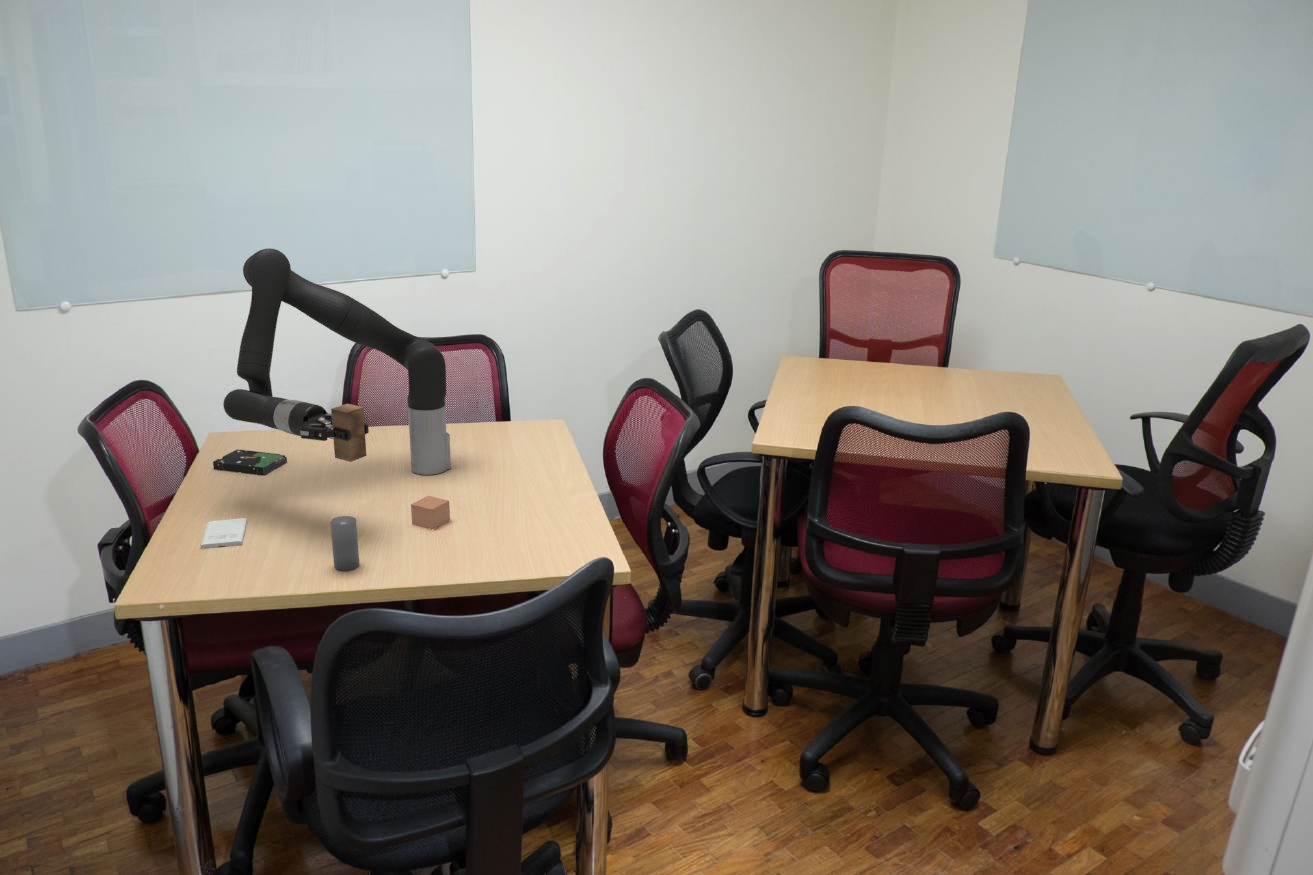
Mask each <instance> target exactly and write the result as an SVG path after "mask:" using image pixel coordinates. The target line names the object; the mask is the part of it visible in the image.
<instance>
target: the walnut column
mask: <svg viewBox="0 0 1313 875" xmlns="http://www.w3.org/2000/svg"><path fill="white" fill-rule="evenodd" d="M330 411H331V413H330V414H332V426H334V427H335V428H342V429H346V430H349V431H350V432H351V440H349V441H346V440H341V439H337V438H335V439H333V448H334V458H335V459H337V460H342V461H346V462H350V463H352V462H355V461H357V460H359V459H363V458H365V457H367V443H366V434H365V428H364V423H365V413H364V412H365V411H364V407H363V406H359V405H356V404H351V403H345V404H342V405H339V406H336V407H333V408H330Z"/></svg>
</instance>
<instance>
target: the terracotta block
mask: <svg viewBox="0 0 1313 875" xmlns="http://www.w3.org/2000/svg"><path fill="white" fill-rule="evenodd" d="M450 510H451V508H450V500H449V499H444V498H440V497H435V496H432V495H427V496H424V497H423V498H420V499H419V500H417V501H415V502H413V503H411V504H410V511H411V514H410V515H411V525H413V526H418V527H421V528H424V529H428V528H431V529H430V530H432V529H434V528H435V529H437V528H439V527H441V526H442V524H443V525H445V524H446V523H448V522H450V521H451V515H450V514H451V511H450ZM449 520H450V521H449ZM444 523H445V524H444ZM440 525H441V526H440ZM438 526H439V527H438ZM436 527H437V528H436ZM435 529H434V530H435Z"/></svg>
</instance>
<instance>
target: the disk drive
mask: <svg viewBox="0 0 1313 875" xmlns="http://www.w3.org/2000/svg"><path fill="white" fill-rule="evenodd" d="M285 464H288V457H287V456H286V455H285V454H280V453H273V452H265V451H255V450H249V449H248V450H247V449H235V450H233V451H231V452H230V453H229V452H228V453H227V454H225V455H223V456H222V458H217V459H215V460H213V461H212V465H213V470H215V471H222V472H223V471H224V472H232V473H238V472H241V473H240V474H248V475H254V474H255V475H256V474H257V476H267V475H268V474H270V473H272V472H273V471H275V470H277V469H278V468H281V467H282V466H284V465H285Z"/></svg>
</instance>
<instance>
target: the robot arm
mask: <svg viewBox="0 0 1313 875" xmlns="http://www.w3.org/2000/svg"><path fill="white" fill-rule="evenodd" d="M242 274H243V278H244V279H245V281H246V283H247V284H248V285H249V286H250V287H251V300H250V306H249V310H248V315H247V319H246V323H245V326H244V329H243V333H242V337H241V340H240V341H241V342H240V346H239V352H238V359H237V366H236V373H237V377H239V378H240V379H243V380H244V381H245V382H247V385H248V389H242V388H238V389H237V388H236V389H234V390H231V391H229V392H228V393H227V395H226V396H225V397H224V400H223V410H224V412H225V414H226V415H227V416H228V417H229V418H230V419H233V420H235V421H239V422H240V421H241V422H247V423H252V424H258V425H262V426H264V427H268V428H271V429H274V430H279V431H282V432H285V433H287V434H290V435H294V436H298V437H300V438H301V439H304V440H312V441H313V440H314V441H322V442H325V441H328V438H329V439H330V440H334V439H335V438H337V439H341V440H346V441H349V440H351V432H350V431H349V430H346V429H342V428H335V427H334V426H332V413H328V412H327V410H326V409H325V408H324V406H321V405H319V404H315V403H310V402H306V401H302V400H297V399H288V398H283V397H279V396H278V397H277V396H273V389H272V381H271V380H272V379H271V375H270V374H271V367H272V359H273V352H274V345H275V337H276V330H277V323H278V317H279V313H280V308H281V306H282V303H285V304H287V305H289V306H292V307H293V308H295V309H297V310H298V311H300V312H301V313H303V314H305V315H306V316H307V317H309V318H310V319H312V320H314V321H316V323H318V324H320V325H322V326H324V327H326V328H327V329H328V330H330V331H331V332H333V333H335V334H337V335H339V336H341V337H342V338H345V339H347V340H348V341H351V342H352V343H355V344H358V345H361V346H362V347H363V346H364V347H367V348H370V349H373V350H376V351H378V352H380V353H383V354H385V355H386V356H388V357H389V358H391V359H393V360H394V361H395V362H397V363H398V364H399V365H401V366H402V367H403V368H405V369H406V370H407V376H408V377H407V378H408V379H407V380H408V395H407V409H408V410H407V411H408V412H407V413H408V415H407V416H408V427H409V428H408V430H409V448H410V450H409V452H410V465H411V466H410V468H411V471H412V473H414V474H416V475H421V476H422V475H423V476H424V475H425V476H429V475H430V476H431V475H437V474H442V473H444V472H446V471H447V470H450V469H452V463H451V462H452V461H451V460H452V459H451V437H450V436H451V435H450V433H448V432H447V416H446V415H447V414H446V396H447V369H446V368H447V366H446V365H447V364H446V360H445V357H444V354H443V353H442V352H441V350H439V348H438V347H437V346H436V345H434V343H432V342H430V341H428V340H425V339H423V338H421V337H418V336H416V335H413V334H411V333H409V332H407V331H406V330H403V329H401V328H399V327H397V326H396V325H394V324H392V323H391V321H388V319H386V318H384V316H382V315H381V314H379V313H378V312H376V311H374V310H373V309H372V308H370V307H368V306H367V305H365V304H363V303H361V302H360V301H358V300H357V299H355V298H353V297H351V296H349V295H347V294H346V293H343V292H341V291H338V290H335V289H333V288H330V287H328V286H324V285H321V284H318V283H314V282H312V281H311V280H308V279H306V278H305V277H303V276H301V275H299V274H298V273H296V272H295V271H294V270H292V268H291V263H290V261H289V259H288V257H287V256H286V255H285V254H284V253H283V252H282V251H280V250H278V249H275V248H270V247H269V248H263V249H260V250H258V251H256V252H254V253H253V254H251V255H250V256H249V257H248V258H247V259H246V260H245V262H244V264H243V267H242ZM364 428H365V435H367V434H369V425H368V423H365V422H364Z"/></svg>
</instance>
